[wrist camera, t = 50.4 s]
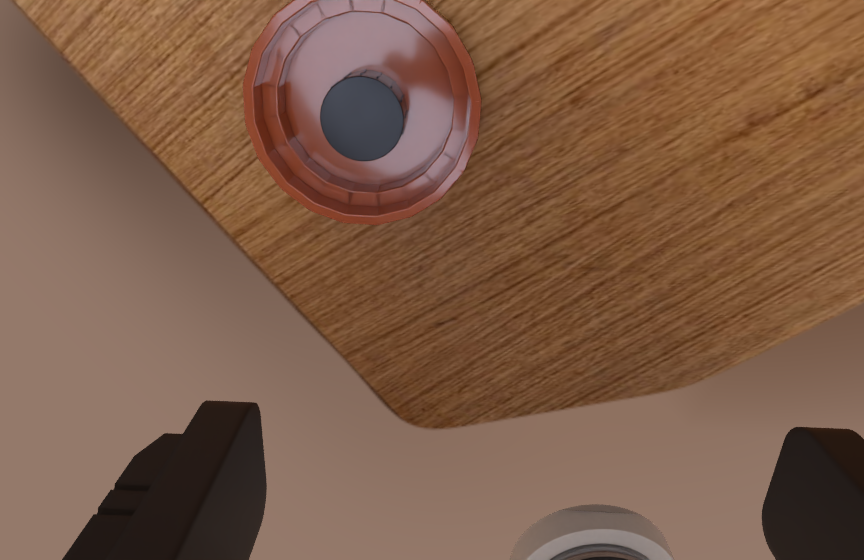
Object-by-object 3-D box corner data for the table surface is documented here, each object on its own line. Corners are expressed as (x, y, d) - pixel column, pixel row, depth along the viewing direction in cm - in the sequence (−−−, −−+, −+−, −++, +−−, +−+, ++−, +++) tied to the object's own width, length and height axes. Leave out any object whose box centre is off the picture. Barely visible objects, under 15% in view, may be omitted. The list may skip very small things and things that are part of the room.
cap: (415, 140, 32) (412, 153, 30) (341, 156, 33) (332, 169, 30) (397, 61, 31) (393, 66, 28) (320, 78, 31) (308, 85, 28)
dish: (467, 209, 34) (469, 231, 31) (268, 197, 34) (250, 217, 31) (486, -10, 30) (491, -11, 26) (257, -25, 30) (235, -28, 26)
